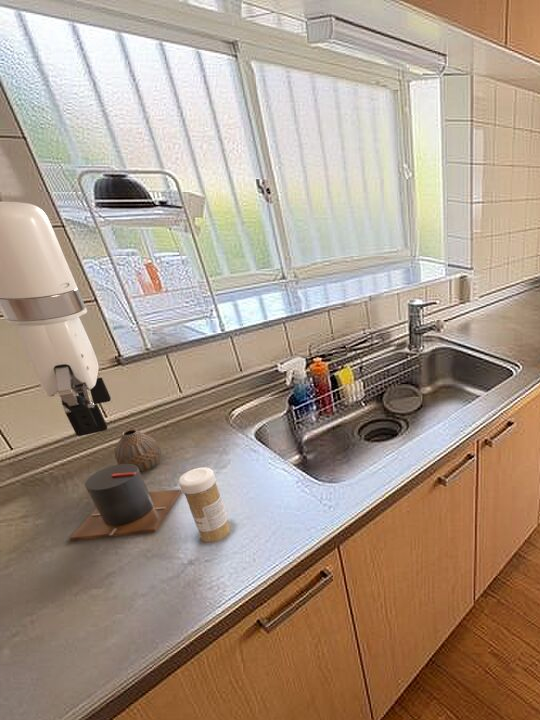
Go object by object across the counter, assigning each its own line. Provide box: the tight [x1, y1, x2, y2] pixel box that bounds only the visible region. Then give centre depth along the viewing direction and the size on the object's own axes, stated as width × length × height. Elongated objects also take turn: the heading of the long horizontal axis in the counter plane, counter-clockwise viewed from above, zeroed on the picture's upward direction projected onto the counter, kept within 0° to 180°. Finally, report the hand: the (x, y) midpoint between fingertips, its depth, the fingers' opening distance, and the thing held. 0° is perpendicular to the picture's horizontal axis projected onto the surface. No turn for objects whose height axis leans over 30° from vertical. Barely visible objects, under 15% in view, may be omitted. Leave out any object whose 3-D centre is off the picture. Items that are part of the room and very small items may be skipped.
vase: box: [114, 428, 162, 473], centre depth 85 cm, size 7×7×9 cm
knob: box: [84, 464, 153, 526], centre depth 72 cm, size 7×7×8 cm
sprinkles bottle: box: [178, 467, 232, 543], centre depth 70 cm, size 5×5×14 cm
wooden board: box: [69, 489, 183, 542], centre depth 75 cm, size 12×11×2 cm
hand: (95, 416), depth 62 cm, fingers open, 9 cm apart
